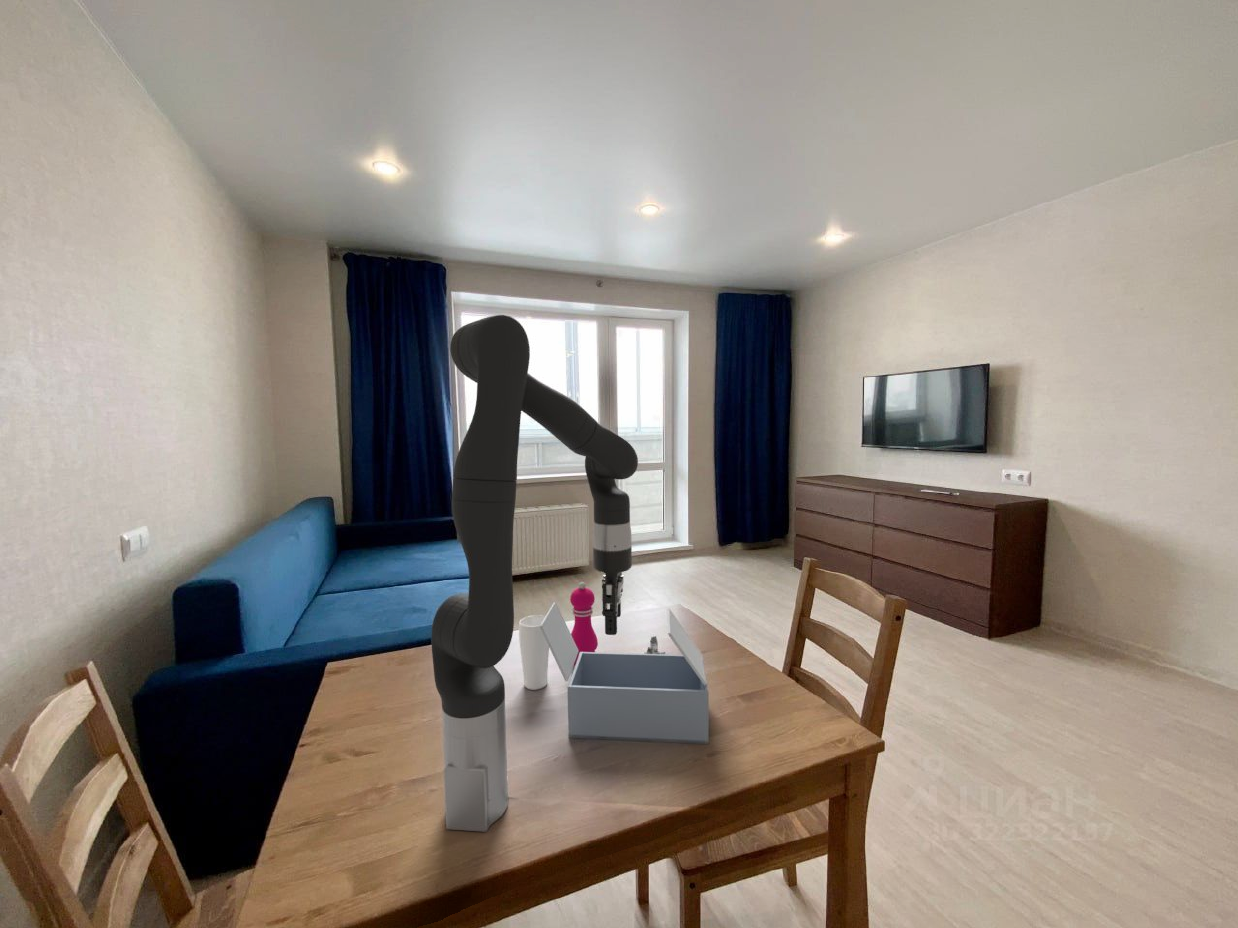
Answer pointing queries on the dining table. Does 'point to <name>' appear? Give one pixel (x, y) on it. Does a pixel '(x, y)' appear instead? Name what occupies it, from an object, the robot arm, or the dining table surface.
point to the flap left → (559, 640)
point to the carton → (637, 699)
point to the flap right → (685, 645)
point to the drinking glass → (533, 652)
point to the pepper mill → (583, 620)
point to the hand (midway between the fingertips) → (613, 624)
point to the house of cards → (653, 647)
